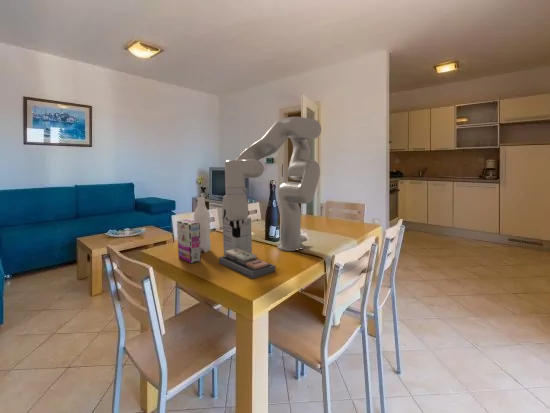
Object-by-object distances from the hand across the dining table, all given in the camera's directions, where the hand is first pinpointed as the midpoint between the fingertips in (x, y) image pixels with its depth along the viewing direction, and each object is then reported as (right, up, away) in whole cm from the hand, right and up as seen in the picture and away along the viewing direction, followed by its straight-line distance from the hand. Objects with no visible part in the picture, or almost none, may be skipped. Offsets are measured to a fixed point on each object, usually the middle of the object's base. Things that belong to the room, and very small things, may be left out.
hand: (236, 236), depth 121 cm
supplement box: (-1, -9, +13) cm, 16 cm away
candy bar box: (-21, -11, +7) cm, 24 cm away
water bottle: (-18, -9, +19) cm, 27 cm away
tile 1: (0, -8, +2) cm, 9 cm away
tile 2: (+4, -9, -3) cm, 11 cm away
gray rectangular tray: (+4, -12, -3) cm, 13 cm away
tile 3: (+9, -11, -8) cm, 17 cm away
